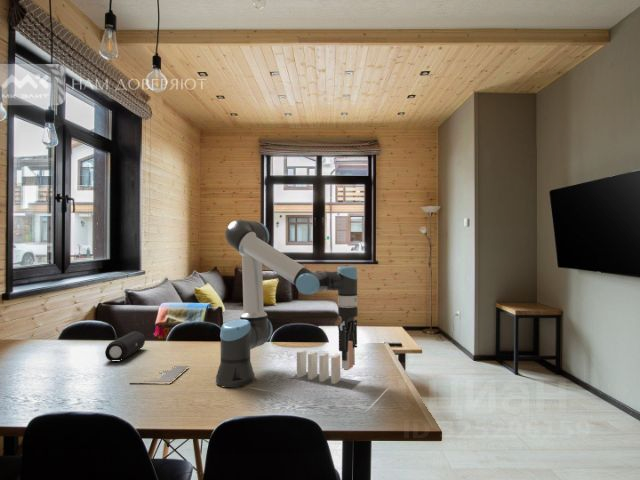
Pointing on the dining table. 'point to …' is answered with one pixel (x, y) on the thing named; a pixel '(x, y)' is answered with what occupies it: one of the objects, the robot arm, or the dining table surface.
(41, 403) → the dining table surface
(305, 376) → the mat
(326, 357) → the domino
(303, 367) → the domino
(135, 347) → the portable speaker
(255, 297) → the robot arm
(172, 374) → the play button award
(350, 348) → the end domino
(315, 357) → the domino
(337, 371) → the domino
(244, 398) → the dining table surface
